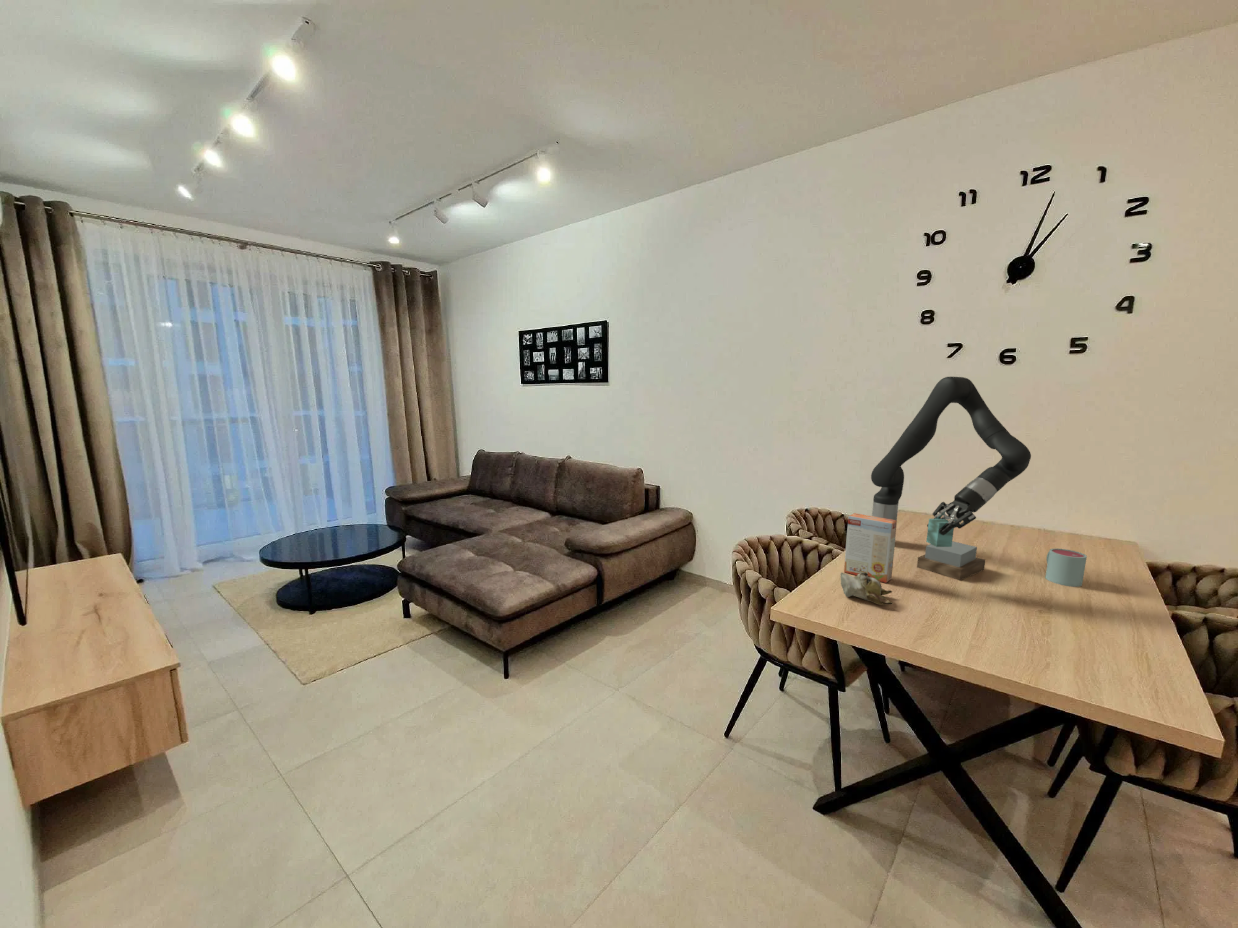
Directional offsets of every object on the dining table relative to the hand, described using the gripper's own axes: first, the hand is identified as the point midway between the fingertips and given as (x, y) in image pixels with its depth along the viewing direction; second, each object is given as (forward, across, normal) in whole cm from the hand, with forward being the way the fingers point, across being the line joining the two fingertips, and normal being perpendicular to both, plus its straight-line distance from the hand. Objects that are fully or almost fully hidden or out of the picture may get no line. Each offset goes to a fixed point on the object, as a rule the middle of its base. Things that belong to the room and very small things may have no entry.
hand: (935, 530), depth 158 cm
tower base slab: (+2, -14, +26) cm, 29 cm away
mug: (-21, -4, +48) cm, 52 cm away
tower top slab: (-1, -14, +22) cm, 26 cm away
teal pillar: (+2, 0, +5) cm, 5 cm away
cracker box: (+25, -8, +2) cm, 26 cm away
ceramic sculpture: (+33, +10, -6) cm, 35 cm away
